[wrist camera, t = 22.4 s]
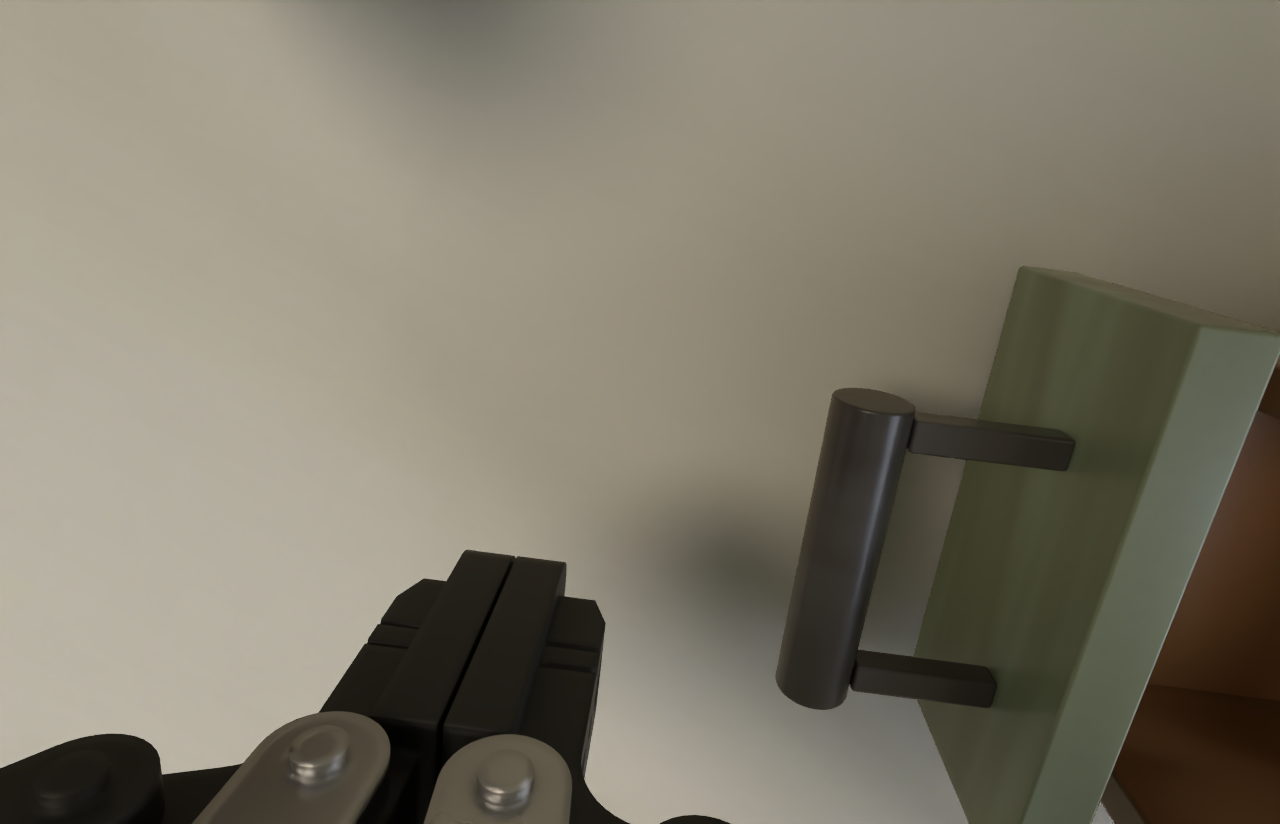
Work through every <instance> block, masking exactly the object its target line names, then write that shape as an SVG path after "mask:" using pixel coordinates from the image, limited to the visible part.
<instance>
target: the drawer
mask: <svg viewBox="0 0 1280 824" xmlns="http://www.w3.org/2000/svg"><path fill="white" fill-rule="evenodd" d="M906 449H908V451H909V452H911V453H915V454H923V455H931V456H939V457H947V458H956V459H964V460H967V461H966V465H965V469H964V472H963V476H962V480H961V483H960V487H959V491H958V494H957V498H956V502H955V505H954V509H953V513H952V516H951V520H950V524H949V527H948V531H947V535H946V538H945V542H944V546H943V549H942V553H941V557H940V560H939V564H938V568H937V571H936V575H935V579H934V582H933V586H932V590H931V593H930V597H929V601H928V604H927V608H926V612H925V615H924V619H923V623H922V626H921V630H920V634H919V637H918V641H917V645H916V648H915V652H914V656H913V657H911V656H903V655H895V654H887V653H880V652H872V651H864V650H858V647H859V643H860V639H861V634H862V630H863V626H864V622H865V618H866V614H867V610H868V606H869V601H870V597H871V593H872V589H873V585H874V581H875V577H876V573H877V568H878V564H879V560H880V556H881V552H882V548H883V544H884V540H885V535H886V531H887V527H888V523H889V519H890V515H891V511H892V507H893V502H894V498H895V494H896V490H897V486H898V482H899V478H900V474H901V469H902V465H903V461H904V457H905V453H906ZM776 682H777V685H778V687H779V689H780V690H781V691H782V693H783V694H784V695H785V696H787V697H788V698H789V699H791V700H792V701H794V702H795V703H797V704H800V705H802V706H805V707H808V708H812V709H819V710H827V709H832V708H835V707H838V706H839V705H841V704H842V703H843V702H844V700H845V699H846V696H847V692H848V688H849V684H850V686H851V689H852V690H853V691H857V692H865V693H873V694H880V695H888V696H896V697H903V698H911V699H917V701H918V703H919V706H920V708H921V711H922V713H923V715H924V718H925V720H926V722H927V725H928V727H929V730H930V732H931V734H932V737H933V739H934V741H935V744H936V746H937V749H938V751H939V753H940V756H941V758H942V760H943V763H944V765H945V768H946V770H947V772H948V775H949V777H950V779H951V782H952V784H953V787H954V789H955V791H956V794H957V796H958V798H959V801H960V803H961V806H962V808H963V810H964V813H965V815H966V817H967V820H968V822H969V824H1091V823H1092V820H1093V818H1094V815H1095V813H1096V810H1097V808H1098V805H1099V803H1100V801H1101V803H1102V804H1103V806H1104V807H1105V809H1106V810H1107V812H1108V814H1109V815H1110V817H1111V818H1112V820H1113V821H1114V823H1115V824H1280V332H1276V331H1273V330H1269V329H1266V328H1262V327H1259V326H1256V325H1252V324H1249V323H1246V322H1242V321H1239V320H1236V319H1232V318H1229V317H1225V316H1222V315H1219V314H1215V313H1212V312H1209V311H1205V310H1202V309H1198V308H1195V307H1192V306H1188V305H1185V304H1182V303H1178V302H1175V301H1171V300H1168V299H1165V298H1161V297H1158V296H1155V295H1151V294H1148V293H1144V292H1141V291H1138V290H1134V289H1131V288H1128V287H1124V286H1121V285H1117V284H1114V283H1111V282H1107V281H1104V280H1101V279H1097V278H1094V277H1091V276H1087V275H1084V274H1080V273H1077V272H1071V271H1063V270H1054V269H1045V268H1037V267H1028V266H1021V267H1020V268H1019V271H1018V274H1017V278H1016V282H1015V285H1014V289H1013V293H1012V296H1011V300H1010V304H1009V307H1008V311H1007V315H1006V318H1005V322H1004V326H1003V329H1002V333H1001V337H1000V340H999V344H998V348H997V351H996V355H995V359H994V362H993V366H992V370H991V373H990V377H989V381H988V384H987V388H986V392H985V395H984V399H983V403H982V406H981V410H980V414H979V417H978V420H976V419H968V418H960V417H951V416H943V415H935V414H926V413H918V412H916V410H915V407H914V405H913V404H911V403H910V402H908V401H907V400H905V399H903V398H900V397H898V396H895V395H892V394H889V393H885V392H881V391H876V390H871V389H863V388H843V389H838V390H836V391H834V393H833V394H832V398H831V402H830V407H829V412H828V417H827V422H826V427H825V432H824V437H823V442H822V447H821V452H820V457H819V462H818V467H817V472H816V477H815V482H814V487H813V492H812V497H811V502H810V507H809V512H808V516H807V521H806V526H805V531H804V536H803V541H802V546H801V551H800V556H799V561H798V566H797V571H796V576H795V581H794V586H793V591H792V596H791V601H790V606H789V611H788V616H787V621H786V625H785V630H784V635H783V640H782V645H781V650H780V655H779V660H778V665H777V670H776Z"/></svg>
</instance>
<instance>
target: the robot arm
mask: <svg viewBox="0 0 1280 824" xmlns="http://www.w3.org/2000/svg"><path fill="white" fill-rule="evenodd" d="M565 583H566V562H559V561H551V560H543V559H535V558H528V557H520V556H518V557H517V558H515V556H511V555H503V554H495V553H487V552H480V551H472V550H465V551H464V552H463V554H462V556H461V557H460V559H459V561H458V562H457V564H456V566H455V568H454V569H453V571H452V573H451V575H450V576H449V578H448V580H447V581H439V580H432V579H423V580H421V581H419V582H418V583H416V584H415V585H413V586H412V587H410V588H409V589H407V590H406V591H404V592H403V593H401V594H400V595H398V596H397V597H396V598H395V600H394V601H393V603H392V604H391V606H390V607H389V609H388V610H387V612H386V613H385V615H384V616H383V618H382V619H381V624H378V625H377V627H376V628H375V630H374V631H373V632H372V634H371V635H370V637H369V638H368V643H367V644H364V646H363V647H362V649H361V650H360V652H359V653H358V655H357V656H356V658H355V659H354V661H353V662H352V664H351V665H350V667H349V668H348V670H347V671H346V673H345V674H344V676H343V677H342V679H341V680H340V682H339V683H338V685H337V686H336V688H335V689H334V691H333V692H332V694H331V695H330V697H329V698H328V700H327V701H326V702H325V704H324V705H323V707H322V708H321V710H320V711H319V713H316V714H312V715H308V716H305V717H302V718H299V719H296V720H294V721H292V722H290V723H287V724H285V725H284V726H282V727H280V728H279V729H277V730H275V731H274V732H273V733H271V734H270V735H269V736H268V737H266V738H265V739H264V740H263V741H262V742H261V743H260V744H259V745H258V746H257V747H256V749H255V750H254V751H253V752H252V753H251V755H250V756H249V757H248V758H247V759H246V760H245V762H244V763H242V764H238V765H233V766H227V767H221V768H213V769H205V770H197V771H188V772H180V773H172V774H164V775H162V772H161V764H160V757H159V755H158V753H157V750H156V749H155V748H154V747H153V746H152V745H151V744H150V743H148V742H147V741H145V740H144V739H141V738H138V737H135V736H131V735H125V734H101V735H94V736H88V737H83V738H79V739H76V740H72V741H68V742H66V743H63V744H60V745H57V746H55V747H52V748H50V749H47V750H45V751H42V752H40V753H37V754H35V755H32V756H30V757H28V758H25V759H23V760H20V761H18V762H15V763H13V764H10V765H8V766H5V767H3V768H1V769H0V824H629V823H627V822H625V821H623V820H621V819H620V818H618V817H616V816H614V815H613V814H612V813H610V812H609V811H607V810H606V809H605V808H604V807H603V806H602V805H601V804H600V803H599V802H598V801H597V800H596V799H595V798H594V796H593V795H592V794H591V792H590V791H589V789H588V787H587V785H586V783H585V780H584V777H585V771H586V765H587V759H588V754H589V748H590V742H591V736H592V730H593V724H594V718H595V712H596V705H597V696H598V687H599V678H600V669H601V660H602V651H603V642H604V633H605V621H604V619H603V617H602V615H601V612H600V610H599V608H598V606H597V604H596V601H595V600H587V599H579V598H572V597H564V595H565ZM660 824H730V823H728V822H725V821H722V820H720V819H716V818H712V817H708V816H699V815H688V816H680V817H675V818H671V819H669V820H667V821H664V822H662V823H660Z"/></svg>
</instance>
